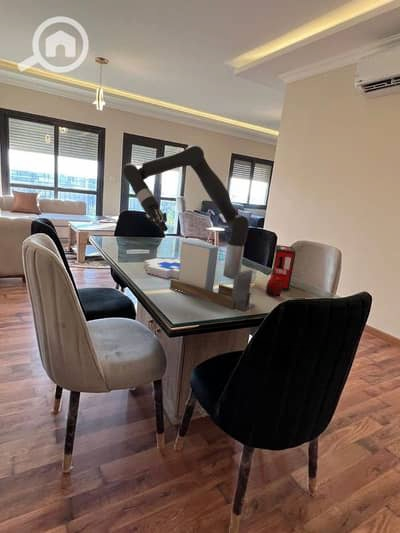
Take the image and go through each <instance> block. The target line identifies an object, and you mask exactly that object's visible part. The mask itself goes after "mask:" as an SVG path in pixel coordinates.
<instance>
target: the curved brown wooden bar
mask: <svg viewBox="0 0 400 533" xmlns="http://www.w3.org/2000/svg"><path fill="white" fill-rule="evenodd" d="M171 288H173V289H172V290H174V289H177V290H180V291H183V292H186V293H185V294H187V293H189V294H188V295H190V294H191V295H190V296H193V295H194V296H193V297H196V296H197V297H196V298H199V299H203V300H206V301H209V302H212V303H215V304H217V305H221V306H224V307H227V308H230V305H231V298H232V290H233V287H229V286H226V285H224V284H219V285H218V288H217V289H218V290H217V292H216V291H214V290H213V291H210V290H206V289H203V288H200V287H196V286H193V285H190V284H187V283H183V282H180V281H178V280H177V279H173V278H171V279H170V285H169V289H171ZM177 290H176V291H177ZM180 291H179V292H180ZM183 292H182V293H183ZM251 294H252V293H251V292H249V295H248V301H247V302H249V303H251V302H250V300H251ZM237 304H238V299H236V302H235V309H234V310H237V309H236V308H237Z"/></svg>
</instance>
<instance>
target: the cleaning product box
mask: <svg viewBox="0 0 400 533" xmlns="http://www.w3.org/2000/svg"><path fill="white" fill-rule="evenodd" d="M296 253H297V252H296V250H295V248H294V247H293V246H289V245H288V246H286V245H279V244H275V248H274V254H273V260H272V267H271V272H270V277H269V279H270V278H271V277H272V276H274V273H273V272H274V268H273V267H274V265H276V266H275V268H277V270H276V269H275V276H276V277H277V278H279V279H281V283H282V290H281V292H288V291H290V287H291V286H290V285H291V279H292V274H293V270H294V263H295V257H296Z"/></svg>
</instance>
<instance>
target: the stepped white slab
mask: <svg viewBox="0 0 400 533" xmlns="http://www.w3.org/2000/svg"><path fill="white" fill-rule="evenodd" d="M143 268H144V269H145V271H146V270H147V271H146V274H148V273H150V274H149V275H152V274H153V276H156V275H157V277H160V276H161V277H160V278H164V277H165V279H169V278H174V277H175V278H174V279H178V278H179V268H180V259H178V258H175V259H171V258H164V259H163V258H159V257H157V258H151V259H146V260H144V261H143Z"/></svg>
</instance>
